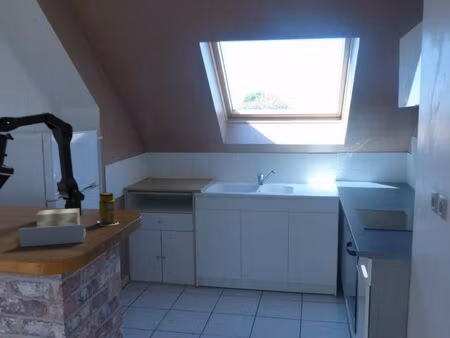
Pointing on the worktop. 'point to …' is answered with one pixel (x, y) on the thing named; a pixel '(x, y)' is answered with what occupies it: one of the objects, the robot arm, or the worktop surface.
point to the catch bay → (52, 235)
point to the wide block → (58, 217)
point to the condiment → (107, 209)
